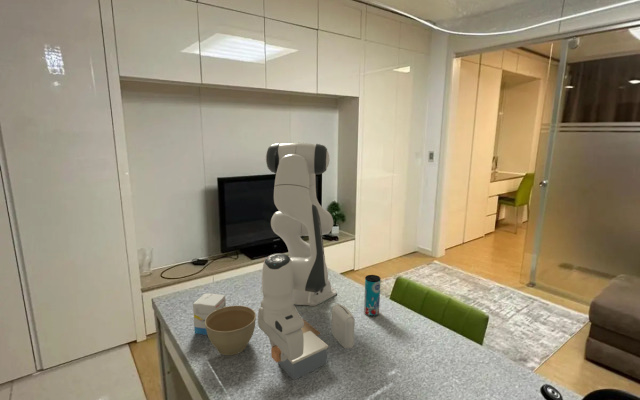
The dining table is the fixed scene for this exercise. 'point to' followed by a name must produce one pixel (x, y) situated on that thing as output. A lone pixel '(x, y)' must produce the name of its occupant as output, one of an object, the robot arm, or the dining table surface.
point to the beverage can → (372, 295)
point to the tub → (304, 364)
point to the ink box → (206, 310)
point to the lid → (310, 348)
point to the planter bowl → (230, 328)
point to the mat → (309, 328)
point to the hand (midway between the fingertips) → (279, 355)
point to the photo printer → (343, 326)
